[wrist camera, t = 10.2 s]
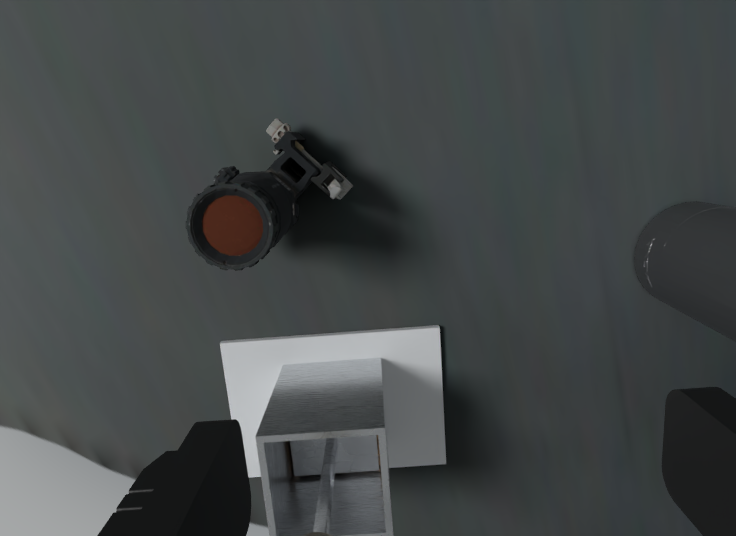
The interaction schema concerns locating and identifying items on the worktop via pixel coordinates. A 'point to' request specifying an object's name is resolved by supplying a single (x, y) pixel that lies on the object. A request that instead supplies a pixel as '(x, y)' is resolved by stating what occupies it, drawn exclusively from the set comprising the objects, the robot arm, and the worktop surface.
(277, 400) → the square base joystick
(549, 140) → the worktop surface
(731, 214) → the robot arm
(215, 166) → the worktop surface
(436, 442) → the tray
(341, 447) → the plunger
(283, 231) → the scope
